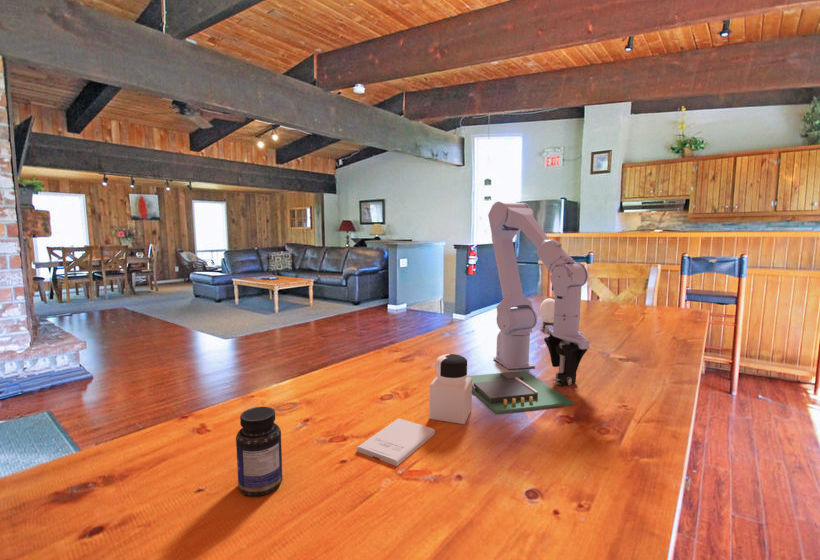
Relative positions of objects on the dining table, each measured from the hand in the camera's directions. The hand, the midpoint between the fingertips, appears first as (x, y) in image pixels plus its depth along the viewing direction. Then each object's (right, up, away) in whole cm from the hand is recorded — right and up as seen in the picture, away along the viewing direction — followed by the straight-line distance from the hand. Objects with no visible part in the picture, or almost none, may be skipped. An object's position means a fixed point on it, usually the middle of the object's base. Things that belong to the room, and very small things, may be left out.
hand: (563, 370), depth 102 cm
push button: (0, -4, 0) cm, 4 cm away
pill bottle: (-58, -9, -40) cm, 71 cm away
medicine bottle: (-29, -6, -16) cm, 33 cm away
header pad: (-16, -4, -7) cm, 17 cm away
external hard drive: (-39, -8, -27) cm, 48 cm away
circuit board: (-13, -4, -4) cm, 14 cm away
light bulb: (+15, +4, +57) cm, 59 cm away
